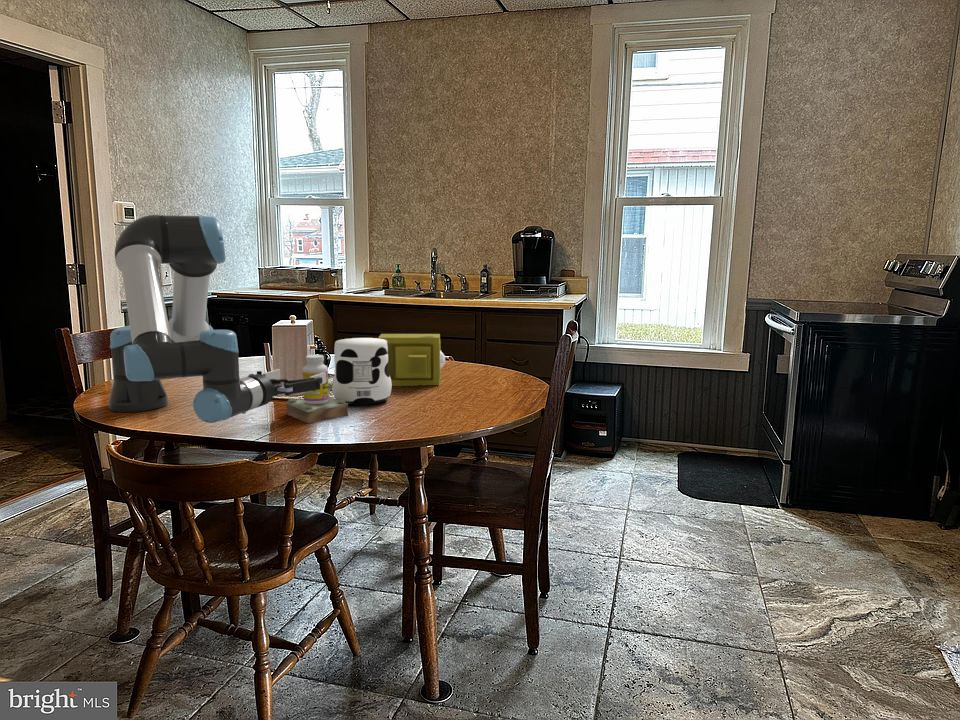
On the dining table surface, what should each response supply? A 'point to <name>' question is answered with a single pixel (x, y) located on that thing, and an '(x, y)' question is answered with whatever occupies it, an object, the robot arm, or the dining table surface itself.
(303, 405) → the base plate
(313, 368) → the supplement bottle
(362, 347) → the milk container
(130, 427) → the dining table surface
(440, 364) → the olive green rectangular box
